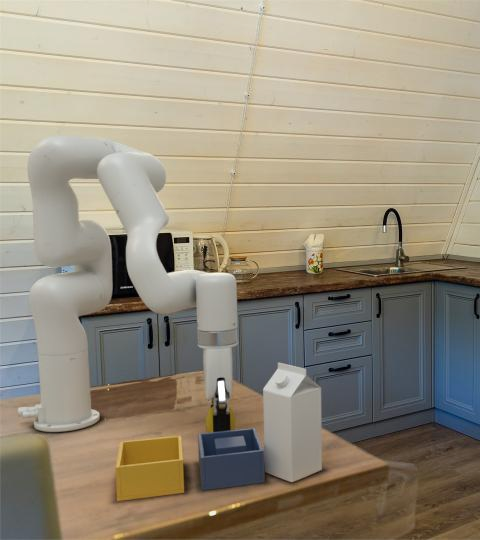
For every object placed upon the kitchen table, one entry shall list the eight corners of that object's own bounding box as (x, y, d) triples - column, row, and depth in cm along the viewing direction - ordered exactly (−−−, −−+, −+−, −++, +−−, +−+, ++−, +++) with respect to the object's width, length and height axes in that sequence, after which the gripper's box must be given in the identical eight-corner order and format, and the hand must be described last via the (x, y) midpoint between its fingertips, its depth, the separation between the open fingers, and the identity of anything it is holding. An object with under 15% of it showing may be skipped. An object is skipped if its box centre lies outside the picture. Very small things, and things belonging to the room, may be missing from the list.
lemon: (228, 448, 138) (227, 407, 137) (201, 446, 139) (200, 405, 138) (240, 438, 144) (239, 399, 143) (214, 436, 145) (213, 397, 144)
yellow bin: (117, 501, 115) (115, 467, 115) (121, 472, 127) (120, 441, 126) (184, 492, 118) (183, 459, 118) (182, 465, 130) (181, 435, 129)
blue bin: (202, 490, 119) (200, 457, 119) (198, 463, 131) (197, 433, 130) (264, 482, 122) (263, 450, 122) (256, 457, 134) (255, 427, 133)
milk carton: (295, 461, 132) (293, 358, 130) (322, 470, 127) (321, 365, 125) (264, 473, 126) (262, 366, 124) (292, 483, 122) (290, 373, 120)
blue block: (217, 476, 123) (216, 448, 123) (215, 466, 128) (214, 438, 127) (247, 473, 125) (246, 445, 124) (244, 462, 130) (243, 435, 129)
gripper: (195, 330, 146) (198, 417, 148) (199, 348, 130) (202, 446, 132) (234, 327, 148) (236, 413, 150) (242, 345, 132) (244, 441, 134)
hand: (220, 427), depth 141 cm, fingers closed on lemon, 5 cm apart
